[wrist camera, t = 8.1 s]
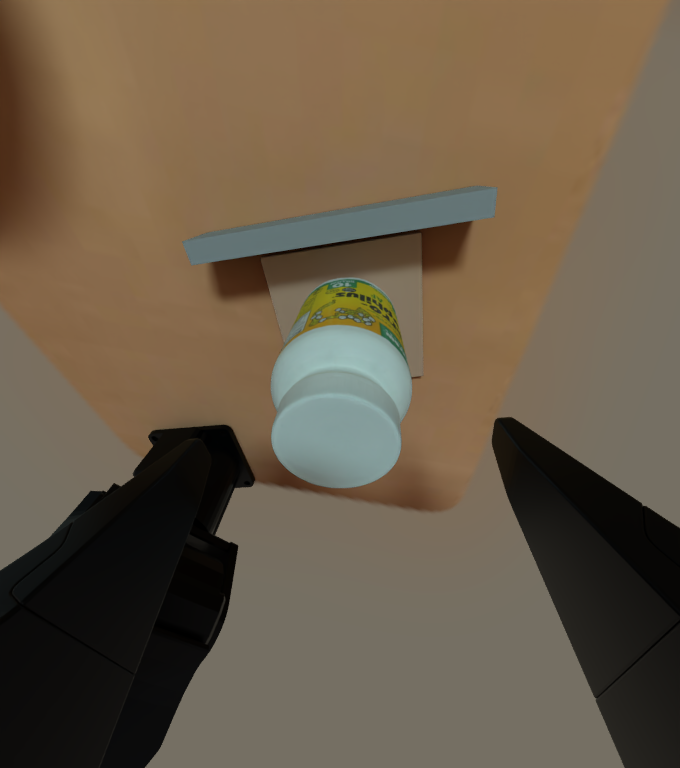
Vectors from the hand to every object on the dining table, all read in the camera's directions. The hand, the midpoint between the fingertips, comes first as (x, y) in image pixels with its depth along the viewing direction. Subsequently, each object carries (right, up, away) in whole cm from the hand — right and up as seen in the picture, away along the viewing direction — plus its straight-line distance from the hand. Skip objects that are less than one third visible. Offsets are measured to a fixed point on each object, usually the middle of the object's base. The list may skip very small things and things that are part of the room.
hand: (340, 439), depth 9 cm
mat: (+1, +5, +8) cm, 10 cm away
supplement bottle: (0, +5, +8) cm, 10 cm away
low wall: (0, +9, +5) cm, 11 cm away
